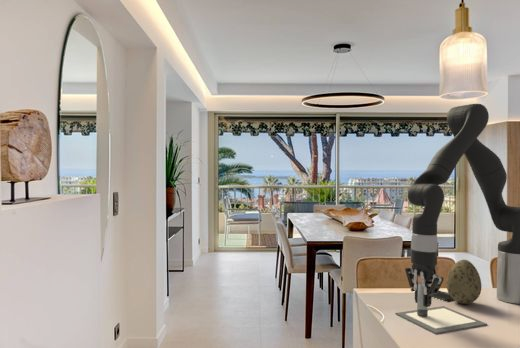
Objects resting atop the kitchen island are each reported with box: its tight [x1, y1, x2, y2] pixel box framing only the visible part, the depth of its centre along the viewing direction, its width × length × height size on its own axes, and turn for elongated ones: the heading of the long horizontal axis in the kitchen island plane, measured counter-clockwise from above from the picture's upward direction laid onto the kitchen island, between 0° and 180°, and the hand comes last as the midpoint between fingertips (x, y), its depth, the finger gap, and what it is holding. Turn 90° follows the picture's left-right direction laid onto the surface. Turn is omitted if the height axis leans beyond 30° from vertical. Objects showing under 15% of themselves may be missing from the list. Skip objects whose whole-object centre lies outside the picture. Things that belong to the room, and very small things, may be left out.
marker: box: [416, 275, 429, 316], centre depth 121 cm, size 3×3×12 cm
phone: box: [410, 287, 455, 302], centre depth 145 cm, size 8×1×15 cm
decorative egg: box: [445, 259, 482, 305], centre depth 136 cm, size 11×11×15 cm
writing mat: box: [395, 305, 488, 335], centre depth 120 cm, size 20×16×1 cm
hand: (422, 304), depth 121 cm, fingers closed on marker, 2 cm apart
